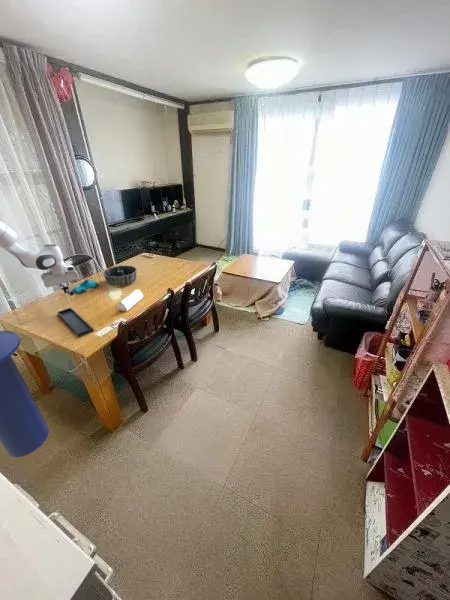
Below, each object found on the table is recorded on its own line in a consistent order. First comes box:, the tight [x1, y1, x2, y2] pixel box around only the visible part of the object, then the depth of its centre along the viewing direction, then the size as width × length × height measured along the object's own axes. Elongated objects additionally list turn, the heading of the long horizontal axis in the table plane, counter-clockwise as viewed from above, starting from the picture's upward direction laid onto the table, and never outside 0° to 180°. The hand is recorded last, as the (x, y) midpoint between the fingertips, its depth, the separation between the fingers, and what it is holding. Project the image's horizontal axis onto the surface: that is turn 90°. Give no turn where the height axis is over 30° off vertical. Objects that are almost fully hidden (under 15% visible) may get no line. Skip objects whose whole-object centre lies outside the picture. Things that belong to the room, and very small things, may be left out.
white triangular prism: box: [116, 288, 144, 312], centre depth 178 cm, size 7×7×24 cm
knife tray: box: [57, 307, 94, 338], centre depth 158 cm, size 8×35×2 cm, turn 47°
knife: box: [60, 283, 74, 297], centre depth 169 cm, size 31×3×4 cm, turn 43°
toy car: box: [71, 279, 100, 295], centre depth 199 cm, size 11×18×7 cm, turn 151°
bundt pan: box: [102, 264, 138, 287], centre depth 210 cm, size 26×26×10 cm
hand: (64, 288), depth 169 cm, fingers closed on knife
